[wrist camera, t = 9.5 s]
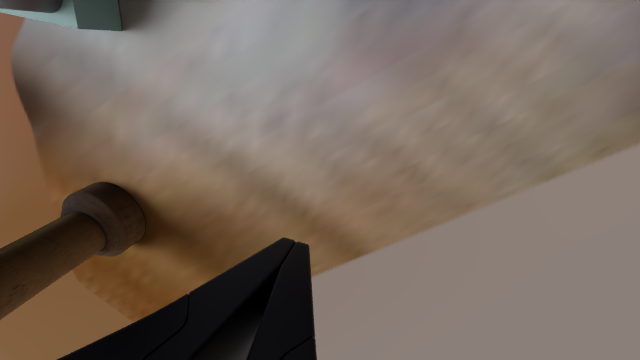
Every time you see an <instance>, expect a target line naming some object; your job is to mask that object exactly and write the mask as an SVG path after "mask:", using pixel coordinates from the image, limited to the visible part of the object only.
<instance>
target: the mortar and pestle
mask: <svg viewBox="0 0 640 360" xmlns="http://www.w3.org/2000/svg"><path fill="white" fill-rule="evenodd" d="M144 232H145V219H144V216H143V213H142V211H141V209H140V208H139V206H138V204H137V203H136V202H135V201H134V200H133V199H132V198H131V197H130V196H129V195H128V194H127V193H126V192H125V191H123V190H122V189H120V188H118V187H117V186H115V185H112V184H108V183H95V184H92V185H89V186H87V187H85V188H83V189H81V190H79V191H77V192H75V193H73V194H71V195H69V196H68V197H67V198H66V199H65V200H64V202H63V204H62V211H61V217H60V218H58V219H57V220H55V221H53V222H51V223H49V224H47V225H45V226H43V227H42V228H40V229H38V230H36V231H34V232H32V233H30V234H28V235H26V236H24V237H22V238H20V239H18V240H17V241H14V242H13V243H10V244H9V245H7V246H5V247H3V248H1V249H0V320H1V319H2V318H4V317H5V316H6V315H8V314H9V313H11V312H12V311H14V310H15V309H16V308H18V307H19V306H21V305H22V304H23V303H25V302H26V301H28V300H29V299H31V298H32V297H33V296H35V295H36V294H38V293H39V292H40V291H42V290H43V289H45V288H46V287H48V286H49V285H50V284H52V283H53V282H55V281H56V280H58V279H59V278H61V277H62V276H63V275H65V274H66V273H68V272H69V271H71V270H72V269H74V268H75V267H77V266H78V265H79V264H81V263H82V262H84V261H85V260H87V259H88V258H90V257H91V256H93V255H94V254H95V255H103V256H116V255H119V254H121V253H122V252H124V251H125V250H126V249H128V248H129V247H130V246H131V245H133V244H134V243H136V242H137V241H138V240H140V239H141V238H142V236H143V235H144Z"/></svg>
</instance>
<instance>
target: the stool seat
mask: <svg viewBox="0 0 640 360" xmlns="http://www.w3.org/2000/svg"><path fill="white" fill-rule="evenodd" d="M0 12H2V13H7V14H11V15H16V16H21V17H25V18H30V19H35V20H39V21H44V22H49V23H54V24H58V25H63V26H68V27H72V28H77V29H93V30H111V31H122V27H121V19H120V12H119V4H118V0H0Z"/></svg>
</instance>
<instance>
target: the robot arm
mask: <svg viewBox="0 0 640 360" xmlns="http://www.w3.org/2000/svg"><path fill="white" fill-rule="evenodd" d="M314 330H315V329H314V315H313V300H312V283H311V268H310V252H309V245H308V244H305V243H301V242H295V241H294V240H291V239H288V238H281V239H280V240H278V241H276V242H275V243H273V244H271V245H269V246H268V247H266V248H264V249H263V250H261V251H259V252H258V253H256V254H254V255H252V256H251V257H249V258H247V259H246V260H244V261H242V262H240V263H239V264H237V265H235V266H234V267H232V268H230V269H229V270H227V271H225V272H223V273H222V274H220V275H218V276H217V277H215V278H213V279H212V280H210V281H208V282H206V283H205V284H203V285H201V286H200V287H198V288H196V289H195V290H193V291H191V292H190V293H189V295H188V294H186V295H184V296H182V297H181V298H179V299H177V300H176V301H174V302H172V303H170V304H168V305H167V306H165V307H163V308H161V309H159V310H158V311H156V312H154V313H152V314H150V315H148V316H146V317H144V318H142V319H140V320H138V321H136V322H134V323H132V324H130V325H128V326H127V327H125V328H122V329H120V330H118V331H116V332H114V333H112V334H110V335H108V336H105V337H103V338H101V339H99V340H97V341H95V342H93V343H91V344H89V345H87V346H85V347H83V348H80V349H78V350H76V351H74V352H72V353H70V354H68V355H66V356H64V357H61V358H59V359H57V360H317V356H316V344H315V331H314Z"/></svg>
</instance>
